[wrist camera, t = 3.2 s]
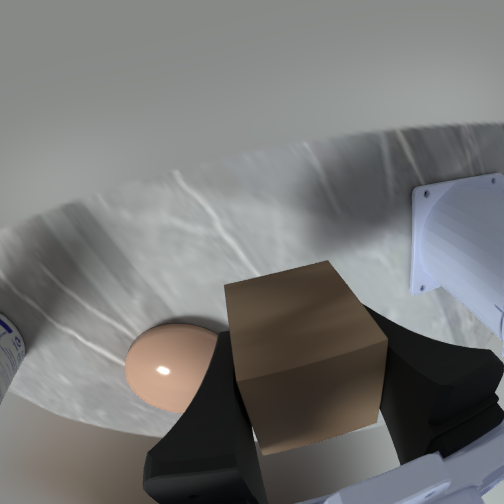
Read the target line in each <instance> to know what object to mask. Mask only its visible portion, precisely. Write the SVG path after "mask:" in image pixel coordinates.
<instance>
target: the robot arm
mask: <svg viewBox="0 0 504 504" xmlns="http://www.w3.org/2000/svg"><path fill="white" fill-rule="evenodd" d="M425 191H426V195H425V196H424V192H425ZM422 285H423V286H422ZM421 286H422V287H421ZM441 286H442V287H444V288H445V289H446V290H447V291H448V292H449V293H450V294H452V295H453V296H454V297H455V298H456V299H457V300H458V301H460V302H461V303H462V304H463V305H464V306H465V307H466V308H467V309H468V310H470V311H471V312H472V313H473V314H474V315H475V316H476V317H477V318H478V319H479V320H480V321H481V322H483V323H484V324H485V325H486V326H487V327H488V328H489V329H490V330H491V331H492V332H493V333H494V334H495V335H496V336H497V337H498V338H499V339H500V340H501V341H503V343H504V176H503V174H502V173H492V174H486V175H480V176H474V177H468V178H462V179H456V180H451V181H445V182H439V183H434V184H428V185H423V186H418V187H415V188H414V190H413V192H412V256H411V276H410V292H411V293H412V294H413V295H419V294H422V293H424V292H427V291H430V290H433V289H435V288H438V287H441ZM362 305H363V306H364V307H365V309H366V310H367V311H368V313H369V314H370V315H371V317H372V318H373V319H374V321H375V322H376V323H377V325H378V326H379V327H380V329H381V330H382V331H383V333H384V334H385V336H386V337H387V338H388V346H387V356H386V365H385V373H384V381H383V388H382V395H381V401H380V407H379V409H380V411H381V413H382V415H383V418H384V420H385V423H386V425H387V428H388V430H389V433H390V435H391V438H392V441H393V444H394V447H395V449H396V452H397V455H398V459H399V462H400V465H401V466H399V467H397V468H395V469H392V470H390V471H387V472H385V473H382V474H380V475H377V476H375V477H372V478H369V479H367V480H364V481H361V482H358V483H355V484H353V485H350V486H348V487H346V488H343V489H340V490H338V491H337V492H335V493H333V494H329V495H326V496H322V497H319V498H315V499H311V500H307V501H303V502H299V503H295V504H485V503H484V501H483V499H482V498H481V496H483V495H484V494H486V493H487V492H488V491H490V490H491V489H492V488H494V487H495V486H497V485H498V484H499V483H500V482H502V481H503V480H504V411H503V410H502V408H501V407H500V406H499V405H498V403H497V402H498V400H499V397H498V396H497V395H496V394H495V391H496V389H497V387H498V385H499V382H500V381H501V378H502V376H503V373H504V364H503V362H502V361H501V360H500V359H499V358H498V357H497V356H496V355H495V354H494V353H493V352H492V351H491V350H489V349H477V348H468V347H462V346H457V345H452V344H448V343H444V342H441V341H437V340H434V339H431V338H428V337H425V336H423V335H420V334H417V333H415V332H413V331H410V330H408V329H406V328H404V327H402V326H400V325H398V324H396V323H394V322H392V321H390V320H389V319H387V318H385V317H383V316H382V315H380V314H378V313H377V312H375V311H373V310H372V309H370V308H369V307H367V306H365V305H364V304H362ZM501 355H502V356H503V357H504V347H503V351H502V353H501ZM143 489H144V490H145V492H146V493H147V494H148V495H149V496H150V497H152V498H153V499H154V500H155V501H156V502H158V503H159V504H268V501H267V497H266V493H265V488H264V484H263V480H262V476H261V471H260V466H259V462H258V457H257V452H256V447H255V442H254V437H253V430H252V424H251V421H250V419H249V416H248V413H247V410H246V407H245V404H244V402H243V399H242V396H241V393H240V390H239V387H238V384H237V381H236V374H235V367H234V360H233V352H232V345H231V337H230V330H229V331H225V332H220V333H219V334H218V337H217V341H216V345H215V349H214V352H213V355H212V358H211V361H210V364H209V366H208V369H207V371H206V374H205V376H204V378H203V380H202V383H201V385H200V387H199V389H198V391H197V392H196V394H195V396H194V398H193V399H192V401H191V403H190V404H189V406H188V407H187V409H186V410H185V412H184V413H183V415H182V416H181V417H180V419H179V420H178V421H177V422H176V424H175V425H174V426H173V427H172V428H171V430H170V431H169V432H168V433H167V434H166V435H165V436H164V438H163V439H161V440H160V441H159V442H158V444H156V445H155V446H154V447H153V448H152V449H151V450H150V451H148V453H147V457H146V461H145V465H144V475H143Z"/></svg>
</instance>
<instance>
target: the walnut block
mask: <svg viewBox="0 0 504 504" xmlns="http://www.w3.org/2000/svg"><path fill="white" fill-rule="evenodd" d="M224 289H225V297H226V306H227V314H228V322H229V329H230V337H231V345H232V352H233V360H234V367H235V374H236V381H237V384H238V387H239V390H240V393H241V396H242V399H243V402H244V404H245V407H246V410H247V413H248V416H249V419H250V421H251V424H252V427H253V430H254V432H255V435H256V438H257V440H258V443H259V446H260V448H261V451H262V454H263V455H267V454H272V453H277V452H281V451H285V450H289V449H294V448H297V447H301V446H305V445H309V444H312V443H316V442H320V441H323V440H326V439H330V438H333V437H336V436H339V435H342V434H345V433H348V432H351V431H354V430H357V429H360V428H363V427H366V426H369V425H371V424H374V423H377V419H378V413H379V407H380V401H381V395H382V388H383V381H384V373H385V365H386V356H387V346H388V338H387V337H386V336H385V334H384V333H383V331H382V330H381V329H380V327H379V326H378V325H377V323H376V322H375V321H374V319H373V318H372V317H371V315H370V314H369V313H368V311H367V310H366V309H365V307H364V306H363V305H362V303H361V302H360V301H359V300H358V298H357V297H356V296H355V294H354V293H353V292H352V290H351V289H350V288H349V287H348V285H347V284H346V283H345V281H344V280H343V279H342V278H341V276H340V275H339V274H338V272H337V271H336V270H335V269H334V267H333V266H332V265H331V264H330V262H329V261H328V260H327V261H323V262H319V263H315V264H311V265H307V266H303V267H298V268H294V269H290V270H286V271H282V272H278V273H273V274H269V275H265V276H261V277H256V278H252V279H248V280H244V281H239V282H235V283H230V284H226V285H224Z"/></svg>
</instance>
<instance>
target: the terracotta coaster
mask: <svg viewBox="0 0 504 504" xmlns="http://www.w3.org/2000/svg"><path fill="white" fill-rule="evenodd" d="M217 337H218V334H216V333H214V332H212V331H210V330H208V329H205V328H202V327H199V326H195V325H189V324H167V325H162V326H158V327H155V328H152V329H149V330H148V331H146V332H144V333H142V334H141V335H140V336H138V337H137V338H136V339H135V341H134V342H133V343H132V345H131V346H130V349H129V351H128V355H127V359H126V363H125V376H126V379H127V382H128V384H129V385H130V387H131V388H132V390H133V391H134V392H135V393H136V394H137V395H138V396H139V397H140V398H141V399H143V400H144V401H145V402H147V403H149V404H151V405H152V406H155V407H157V408H160V409H163V410H166V411H170V412H176V413H184V412H185V410H186V409H187V407H188V406H189V404H190V403H191V401H192V399H193V398H194V396H195V394H196V392H197V391H198V389H199V387H200V385H201V383H202V380H203V378H204V376H205V374H206V371H207V369H208V366H209V364H210V361H211V358H212V355H213V352H214V349H215V345H216V341H217Z"/></svg>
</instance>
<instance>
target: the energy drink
mask: <svg viewBox="0 0 504 504" xmlns="http://www.w3.org/2000/svg"><path fill="white" fill-rule="evenodd" d="M24 357H25V346H24V342H23V339H22V337H21V335H20V333H19V331H18V330H17V328H16V327H15V326H14V324H13V323H12V322H11V321H10V320H9V319H8V318H6V317H5V316H4V315H2V314H1V313H0V404H1V401H2V399H3V398H4V396H5V394H6V392H7V390H8V388H9V386H10V384H11V382H12V380H13V378H14V376H15V374H16V372H17V370H18V369H19V367H20V365H21V363H22V361H23V359H24Z"/></svg>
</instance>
